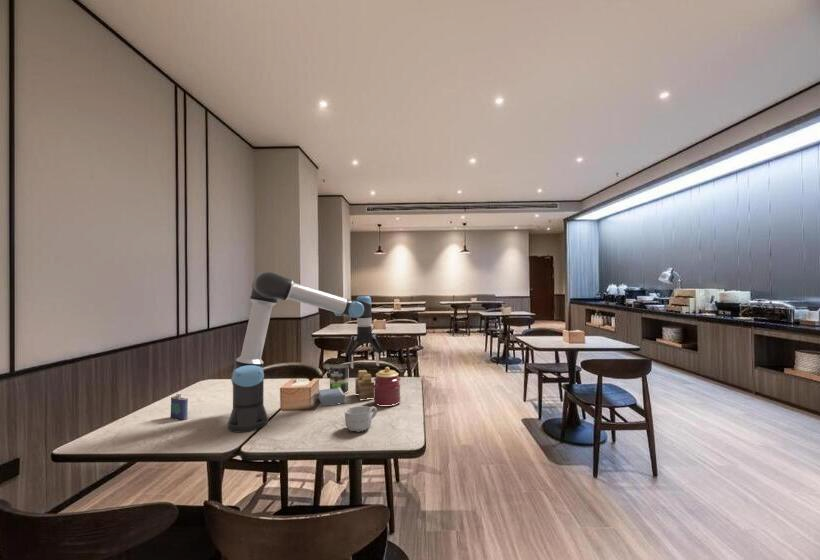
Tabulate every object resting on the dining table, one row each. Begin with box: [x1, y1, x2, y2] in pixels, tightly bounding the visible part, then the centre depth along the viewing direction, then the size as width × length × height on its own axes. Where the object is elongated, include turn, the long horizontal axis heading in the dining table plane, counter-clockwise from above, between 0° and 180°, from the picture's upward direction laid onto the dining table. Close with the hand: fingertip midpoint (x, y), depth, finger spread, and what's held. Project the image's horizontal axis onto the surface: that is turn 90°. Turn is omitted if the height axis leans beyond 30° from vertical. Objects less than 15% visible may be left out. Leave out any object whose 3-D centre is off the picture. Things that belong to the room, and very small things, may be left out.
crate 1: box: [357, 369, 368, 380], centre depth 191 cm, size 4×4×4 cm
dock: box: [318, 387, 346, 407], centre depth 181 cm, size 14×11×4 cm
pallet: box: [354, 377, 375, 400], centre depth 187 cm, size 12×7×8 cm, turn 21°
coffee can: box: [329, 363, 350, 393], centre depth 196 cm, size 10×10×14 cm
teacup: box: [344, 405, 378, 432], centre depth 145 cm, size 14×11×8 cm
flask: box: [170, 393, 189, 421], centre depth 157 cm, size 9×3×11 cm, turn 68°
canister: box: [373, 366, 401, 405], centre depth 177 cm, size 13×13×18 cm
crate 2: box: [362, 372, 372, 384], centre depth 183 cm, size 4×4×4 cm
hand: (365, 366), depth 187 cm, fingers open, 13 cm apart
